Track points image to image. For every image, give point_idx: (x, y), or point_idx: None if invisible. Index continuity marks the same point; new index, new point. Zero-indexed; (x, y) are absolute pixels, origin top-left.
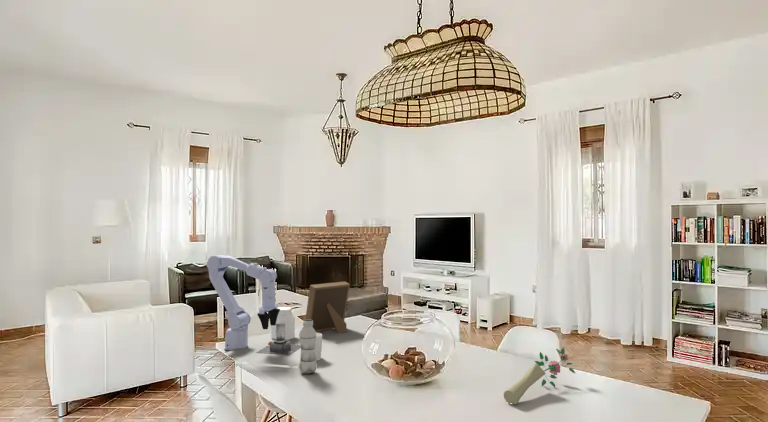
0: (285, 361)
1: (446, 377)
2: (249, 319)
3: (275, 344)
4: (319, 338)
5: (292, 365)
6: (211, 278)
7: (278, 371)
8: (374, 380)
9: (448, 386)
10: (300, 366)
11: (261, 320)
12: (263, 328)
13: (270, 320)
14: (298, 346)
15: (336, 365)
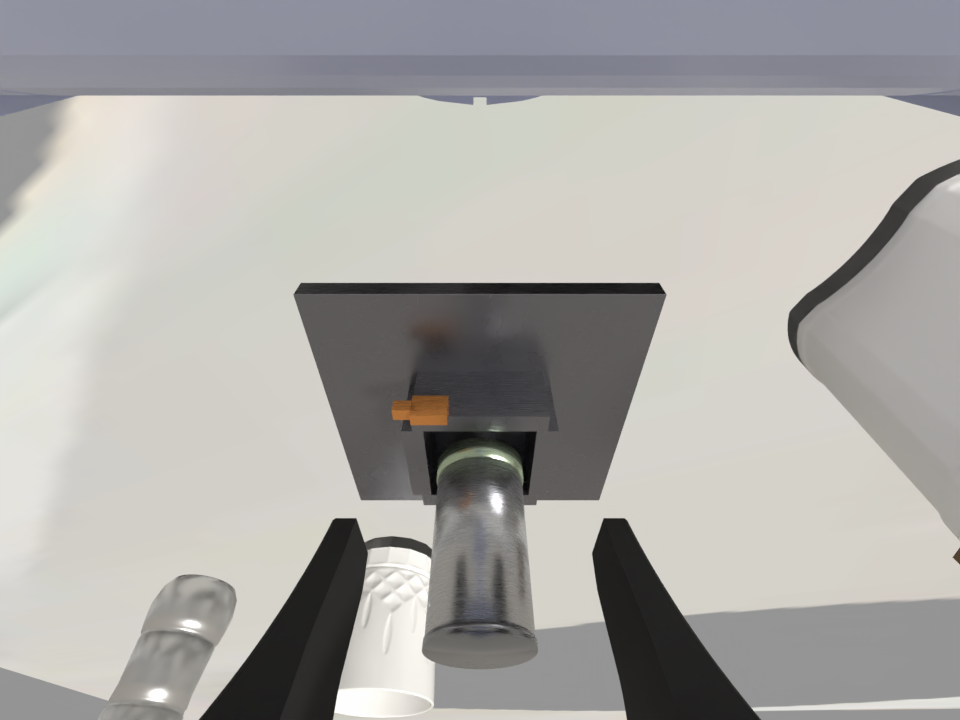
0: (288, 490)
1: None
2: (899, 93)
3: (407, 455)
4: (362, 700)
5: (251, 526)
6: None
7: (129, 511)
8: None
9: None
10: (150, 607)
11: (242, 688)
12: (329, 535)
13: (630, 597)
14: (568, 484)
15: None
